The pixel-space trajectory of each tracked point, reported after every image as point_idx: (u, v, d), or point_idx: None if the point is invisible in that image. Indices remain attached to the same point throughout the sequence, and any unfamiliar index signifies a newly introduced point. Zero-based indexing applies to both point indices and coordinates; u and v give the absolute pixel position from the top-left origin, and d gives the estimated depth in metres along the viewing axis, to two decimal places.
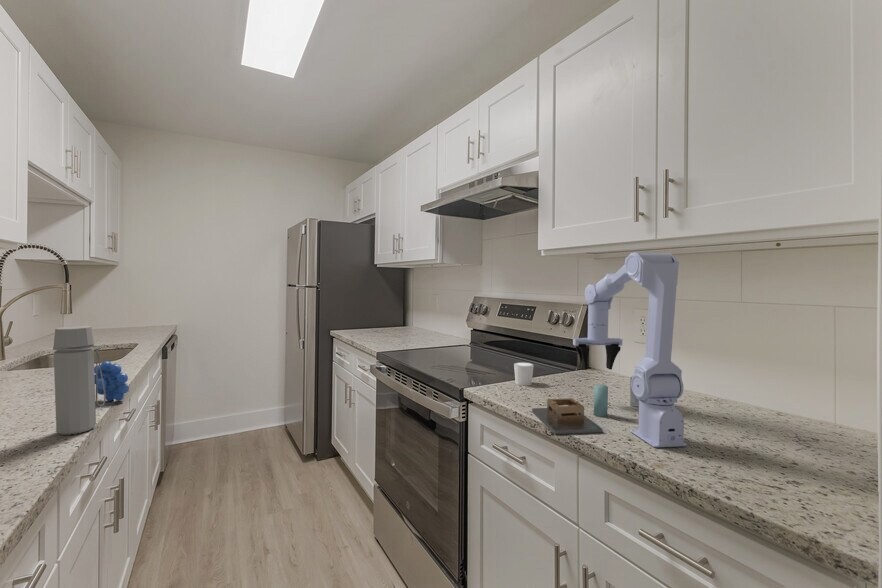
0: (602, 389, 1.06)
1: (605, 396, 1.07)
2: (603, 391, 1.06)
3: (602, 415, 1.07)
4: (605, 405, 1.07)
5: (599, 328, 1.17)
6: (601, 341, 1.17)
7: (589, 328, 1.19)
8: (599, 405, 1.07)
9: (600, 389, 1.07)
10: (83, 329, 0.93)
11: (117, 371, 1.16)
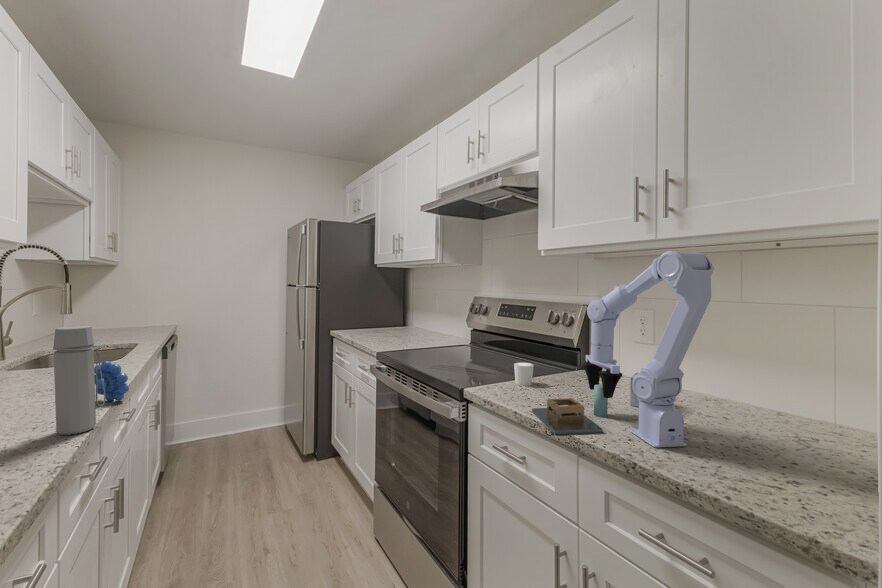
0: (602, 389, 1.06)
1: None
2: None
3: (602, 415, 1.07)
4: (605, 405, 1.07)
5: (591, 347, 1.08)
6: (590, 361, 1.08)
7: None
8: (599, 405, 1.07)
9: (600, 389, 1.07)
10: (83, 329, 0.93)
11: (117, 371, 1.16)
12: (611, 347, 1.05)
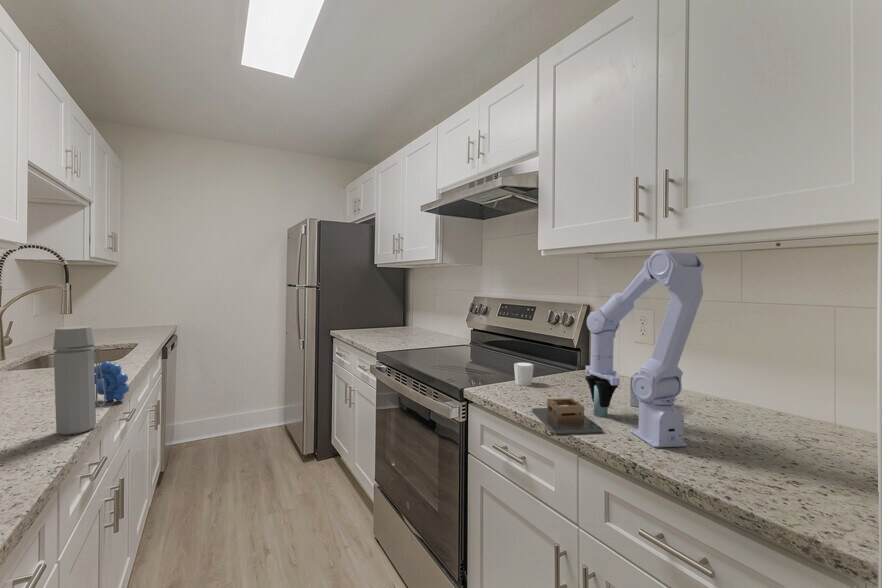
0: None
1: None
2: None
3: (602, 415, 1.07)
4: None
5: (591, 358, 1.08)
6: (590, 372, 1.08)
7: None
8: (599, 405, 1.07)
9: None
10: (83, 329, 0.93)
11: (117, 371, 1.16)
12: (611, 358, 1.05)
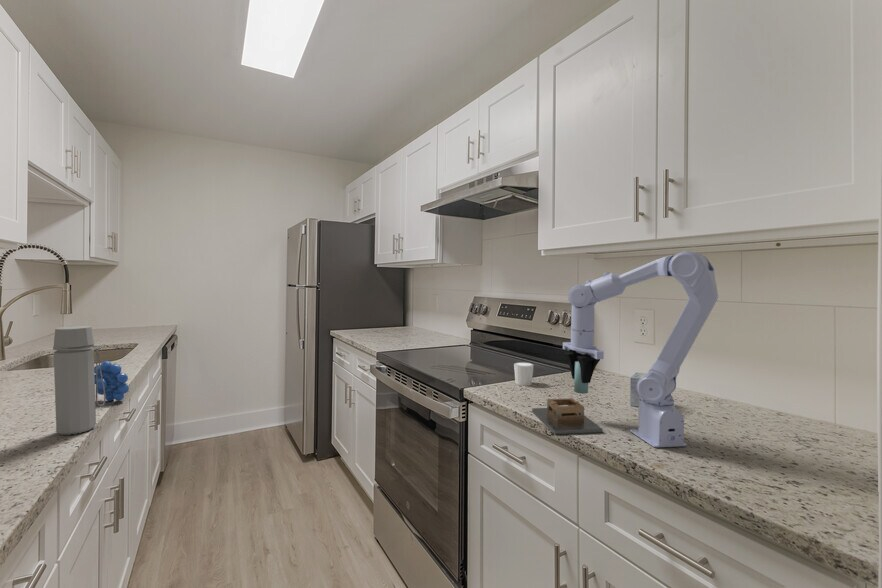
0: None
1: None
2: None
3: (584, 391, 1.03)
4: None
5: (571, 333, 1.04)
6: (571, 348, 1.04)
7: None
8: (581, 381, 1.03)
9: None
10: (83, 329, 0.93)
11: (117, 371, 1.16)
12: (592, 332, 1.02)
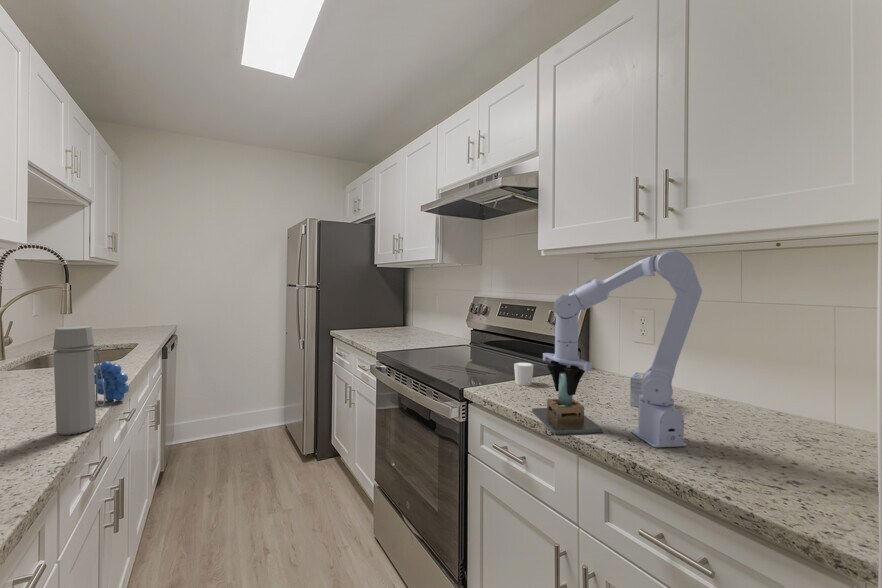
0: None
1: None
2: None
3: (569, 404, 1.01)
4: None
5: (556, 344, 1.02)
6: (557, 360, 1.01)
7: None
8: (567, 393, 1.01)
9: None
10: (83, 329, 0.93)
11: (117, 371, 1.16)
12: (577, 343, 1.01)
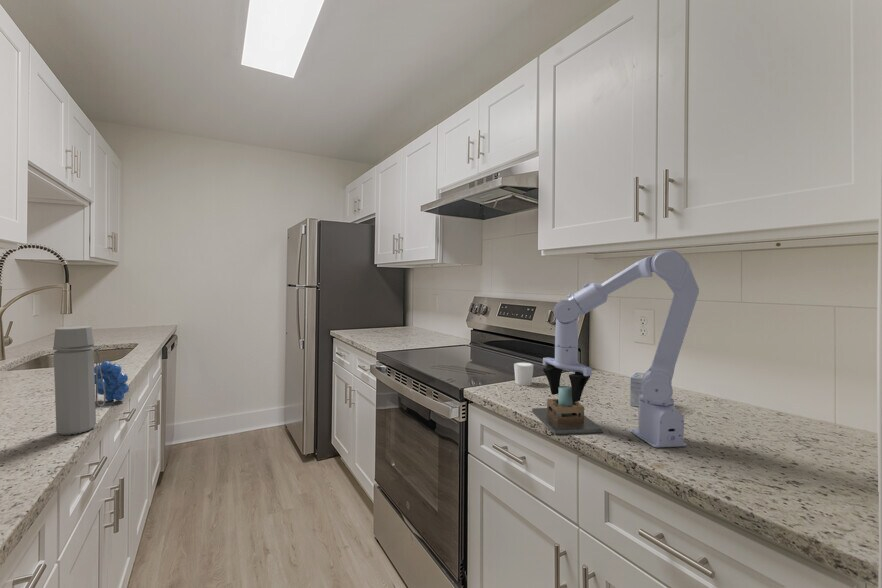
0: (569, 391, 1.01)
1: (571, 398, 1.01)
2: (570, 393, 1.01)
3: None
4: None
5: (556, 349, 1.02)
6: (557, 364, 1.01)
7: None
8: None
9: (567, 391, 1.01)
10: (83, 329, 0.93)
11: (117, 371, 1.16)
12: (577, 348, 1.01)
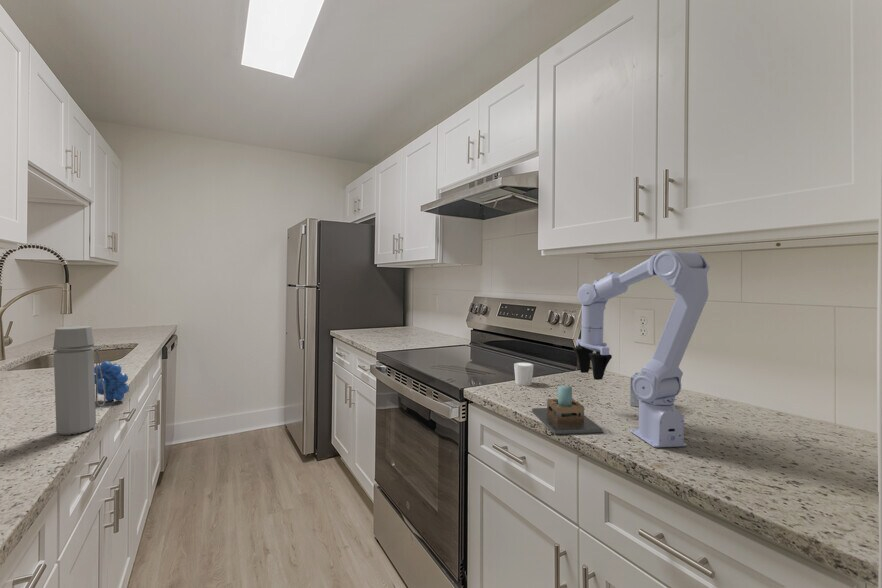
0: (569, 390, 1.01)
1: (571, 397, 1.02)
2: (570, 392, 1.01)
3: None
4: None
5: (581, 330, 1.10)
6: (581, 344, 1.10)
7: None
8: None
9: (567, 390, 1.01)
10: (83, 329, 0.93)
11: (117, 371, 1.16)
12: (601, 330, 1.07)
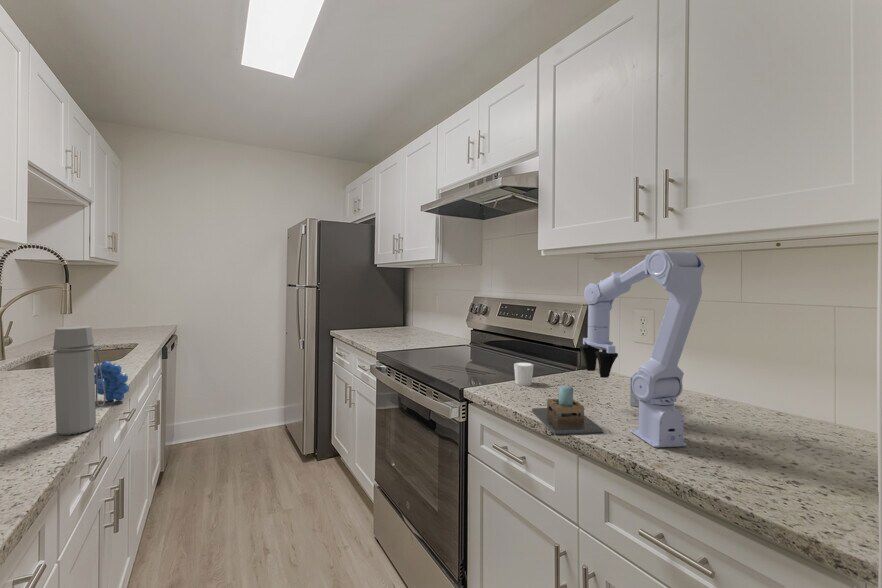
0: (570, 390, 1.01)
1: (572, 397, 1.02)
2: (571, 392, 1.01)
3: None
4: None
5: (588, 329, 1.12)
6: (587, 342, 1.12)
7: None
8: None
9: (569, 391, 1.01)
10: (83, 329, 0.93)
11: (117, 371, 1.16)
12: (607, 329, 1.09)
